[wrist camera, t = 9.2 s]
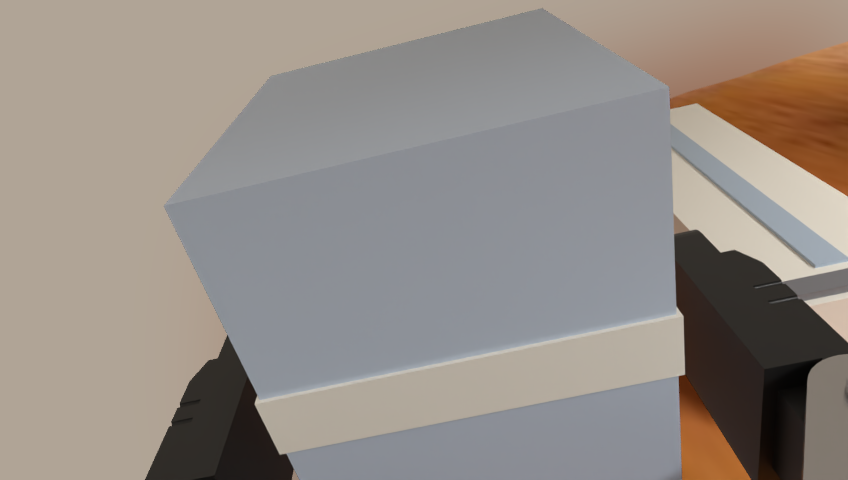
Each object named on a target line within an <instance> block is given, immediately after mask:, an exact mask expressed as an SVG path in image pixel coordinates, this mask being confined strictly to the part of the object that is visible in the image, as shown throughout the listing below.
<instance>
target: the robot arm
mask: <svg viewBox="0 0 848 480" xmlns="http://www.w3.org/2000/svg"><path fill="white" fill-rule="evenodd" d="M674 250H675V281H676V306H677V308H678V309H679V311H680V312H681V313H682V315H683V316H684V355H685V375H686V376H687V378H688V379H689V381H690V383H691V384H692V386H693V387H694V389H695V391H696V392H697V394H698V395H699V397H700V399H701V400H702V402H703V403H704V405H705V406H706V408H707V410H708V411H709V413H710V414H711V416H712V418H713V419H714V421H715V422H716V424H717V426H718V427H719V429H720V430H721V432H722V433H723V435H724V437H725V438H726V440H727V441H728V443H729V445H730V446H731V448H732V449H733V451H734V453H735V454H736V456H737V457H738V459H739V461H740V462H741V464H742V465H743V467H744V468H745V470H746V472H747V473H748V475H749V476H750V478H751V480H848V342H847V341H846V340H845V339H844V338H843V337H842V336H840V335H839V334H838V333H837V332H836V331H835V330H834V329H833V328H832V327H831V326H830V325H829V324H828V323H827V322H826V321H825V320H824V319H822V318H821V317H820V316H819V315H818V314H817V313H816V312H815V311H814V310H813V309H812V308H811V307H810V306H809V305H808V304H807V303H805V302H804V301H803V300H802V299H798V296H797V294H796V293H795V292H794V291H793V290H792V289H791V288H790V287H789V286H787V285H786V284H783V283H782V280H781V279H780V278H779V277H778V276H777V275H776V274H775V273H774V272H773V271H772V270H770V269H769V268H768V267H767V266H766V265H765V264H764V263H763V262H761V261H759V260H757V259H754V258H752V257H750V256H748V255H745V254H743V253H741V252H739V251H736V250H731V251H726V252H720V251H719V250H718V249H717V248H716V247H715V246H714V245H713V244H712V243H711V242H710V241H709V240H708V239H707V238H706V237H705V236H704V235H703V234H702V233H701V232H700V231H699V230H691V231H686V232H681V233H677V234H674ZM256 398H257V393H256V391H255V389H254V387H253V385H252V383H251V381H250V379H249V377H248V375H247V373H246V371H245V369H244V367H243V365H242V363H241V361H240V359H239V357H238V355H237V353H236V351H235V349H234V347H233V345H232V343H231V341H230V339H229V337H228V335H227V338H226V340H225V342H224V345H223V347H222V349H221V352H220V354H219V357H218V359H213V360H209V361H208V362H207V363H206V364H205V365H204V366H203V367H202V368H201V370H200V371H199V372H198V373H197V374H196V375H195V376H194V377H193V378H192V380H191V381H190V382H189V384H188V386H187V389H186V391H185V393H184V395H183V397H182V400H181V402H180V408H177V411H176V413H175V415H174V417H173V419H172V421H171V422H172V426H170V427H169V428H168V430H167V432H166V435H165V437H164V439H163V441H162V443H161V446H160V448H159V451H158V453H157V454H156V457H155V459H154V461H153V464H152V466H151V468H150V470H149V472H148V474H147V477H146V479H145V480H292V475H293V470H294V468H293V466H292V464H291V462H290V460H289V458H288V456H287V454H281V455H280V454H279V452H278V450H277V448H276V446H275V444H274V442H273V440H272V438H271V436H270V434H269V432H268V430H267V428H266V426H265V424H264V422H263V420H262V418H261V416H260V414H259V412H258V410H257V408H256V406H255V401H256Z"/></svg>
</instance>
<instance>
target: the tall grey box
mask: <svg viewBox="0 0 848 480" xmlns="http://www.w3.org/2000/svg"><path fill="white" fill-rule="evenodd" d="M164 208H165V210H166V212H167V214H168V216H169V218H170V220H171V222H172V224H173V226H174V228H175V230H176V232H177V234H178V236H179V238H180V240H181V242H182V244H183V246H184V248H185V250H186V252H187V254H188V256H189V258H190V260H191V262H192V264H193V266H194V268H195V270H196V272H197V274H198V276H199V278H200V280H201V282H202V284H203V286H204V288H205V290H206V292H207V294H208V296H209V299H210V301H211V302H212V305H213V306H214V309H215V311H216V313H217V315H218V317H219V319H220V321H221V323H222V325H223V327H224V329H225V331H226V333H227V335H228V337H229V339H230V341H231V343H232V345H233V347H234V349H235V351H236V353H237V355H238V357H239V359H240V361H241V363H242V365H243V367H244V369H245V371H246V373H247V375H248V377H249V379H250V381H251V383H252V385H253V387H254V389H255V391H256V393H257V398H256V401H255V406H256V408H257V410H258V412H259V414H260V416H261V418H262V420H263V422H264V424H265V426H266V428H267V430H268V432H269V434H270V436H271V438H272V440H273V442H274V444H275V446H276V448H277V450H278V452H279V454H280V455H281V454H287V456H288V458H289V460H290V462H291V464H292V466H293V468H294V470H295V472H296V474H297V476H298V478H299V480H682V468H681V437H680V406H679V376H681V375H685V355H684V316H683V315H682V313H681V312H680V311H679V309H678V308H677V306H676V281H675V250H674V219H673V187H672V156H671V125H670V94H669V86H667V85H666V84H664V83H662V82H660V81H659V80H657V79H656V78H654V77H652V76H651V75H649V74H648V73H646V72H644V71H643V70H641V69H640V68H638V67H636V66H635V65H633V64H632V63H630V62H628V61H627V60H625V59H623V58H622V57H620V56H619V55H617V54H615V53H614V52H612V51H610V50H609V49H607V48H606V47H604V46H602V45H601V44H599V43H598V42H596V41H594V40H593V39H591V38H590V37H588V36H586V35H585V34H583V33H581V32H580V31H578V30H577V29H575V28H573V27H572V26H570V25H569V24H567V23H565V22H564V21H562V20H560V19H559V18H557V17H556V16H554V15H552V14H550V13H549V12H548V11H546V10H544V9H538V10H534V11H529V12H525V13H521V14H518V15H513V16H509V17H505V18H502V19H498V20H493V21H490V22H485V23H481V24H477V25H473V26H469V27H466V28H461V29H457V30H453V31H449V32H445V33H441V34H437V35H433V36H429V37H425V38H421V39H417V40H414V41H409V42H405V43H401V44H397V45H393V46H390V47H386V48H382V49H377V50H373V51H370V52H365V53H361V54H357V55H353V56H349V57H345V58H341V59H337V60H333V61H329V62H325V63H321V64H317V65H313V66H309V67H305V68H301V69H297V70H294V71H289V72H286V73H281V74H277V75H273V76H271V77H270V78H269V79H268V80H267V81H266V83H265V84H264V85H263V86H262V87H261V89H260V90H259V91H258V92H257V94H256V95H255V96H254V97H253V98H252V100H251V101H250V102H249V103H248V105H247V106H246V107H245V108H244V109H243V111H242V112H241V113H240V114H239V115H238V117H237V118H236V119H235V120H234V122H233V123H232V124H231V125H230V126H229V127H228V129H227V130H226V131H225V132H224V133H223V135H222V136H221V137H220V138H219V140H218V141H217V142H216V143H215V144H214V146H213V147H212V148H211V149H210V150H209V152H208V153H207V154H206V155H205V157H204V158H203V159H202V160H201V162H200V163H199V164H198V165H197V166H196V167H195V169H194V170H193V171H192V172H191V174H190V175H189V176H188V177H187V178H186V180H185V181H184V182H183V183H182V184H181V186H180V187H179V188H178V189H177V191H176V192H175V193H174V194H173V195H172V196H171V198H170V199H169V200H168V201H167V203H166V204H165V205H164Z"/></svg>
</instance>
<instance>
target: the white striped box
mask: <svg viewBox="0 0 848 480" xmlns="http://www.w3.org/2000/svg"><path fill="white" fill-rule="evenodd" d="M670 125H671V156H672V187H673V219H674V234H677V233H681V232H686V231H691V230H699V231H700V232H701V233H702V234H703V235H704V236H705V237H706V238H707V239H708V240H709V241H710V242H711V243H712V244H713V245H714V246H715V247H716V248H717V249H718V250H719V251H720V252H726V251H731V250H736V251H739V252H741V253H743V254H745V255H748V256H750V257H752V258H754V259H757V260H759V261H761V262H763V263H764V264H765V265H766V266H767V267H768V268H769V269H770V270H772V271H773V272H774V273H775V274H776V275H777V276H778V277H779V278H780V279H781V280H782V283H783V284H786V285H787V286H789V287H790V288H791V289H792V290H793V291H794V292H795V293H796V294H797V296H798V299H802V300H803V301H804V302H805V303H807V304H808V305H809V306H810V307H811V308H812V309H813V310H814V311H815V312H816V313H817V314H818V315H819V316H820V317H821V318H822V319H824V320H825V321H826V322H827V323H828V324H829V325H830V326H831V327H832V328H833V329H834V330H835V331H836V332H837V333H838V334H839V335H840V336H842V337H843V338H844V339H845V340H846V341H847V342H848V196H846V195H844V194H843V193H841V192H839V191H838V190H836V189H835V188H833V187H831V186H830V185H828V184H827V183H825V182H823V181H822V180H820V179H818V178H817V177H815V176H814V175H812V174H810V173H809V172H807V171H805V170H804V169H802V168H801V167H799V166H797V165H796V164H794V163H792V162H791V161H789V160H788V159H786V158H784V157H783V156H781V155H780V154H778V153H776V152H775V151H773V150H771V149H770V148H768V147H767V146H765V145H763V144H762V143H760V142H758V141H757V140H755V139H754V138H752V137H750V136H749V135H747V134H746V133H744V132H742V131H741V130H739V129H737V128H736V127H734V126H733V125H731V124H729V123H728V122H726V121H724V120H723V119H721V118H720V117H718V116H716V115H715V114H713V113H711V112H710V111H708V110H707V109H705V108H703V107H702V106H700V105H699V104H697V103H696V104H692V105H687V106H683V107H679V108H674V109H670Z"/></svg>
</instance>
